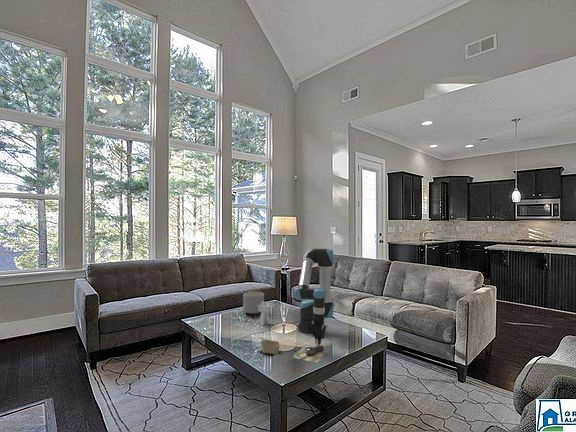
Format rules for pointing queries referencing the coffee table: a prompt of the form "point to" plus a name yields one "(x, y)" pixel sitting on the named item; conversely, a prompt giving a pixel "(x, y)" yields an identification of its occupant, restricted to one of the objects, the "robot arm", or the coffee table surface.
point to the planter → (252, 302)
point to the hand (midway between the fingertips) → (318, 348)
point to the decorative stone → (269, 347)
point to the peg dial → (312, 350)
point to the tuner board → (309, 358)
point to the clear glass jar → (264, 313)
